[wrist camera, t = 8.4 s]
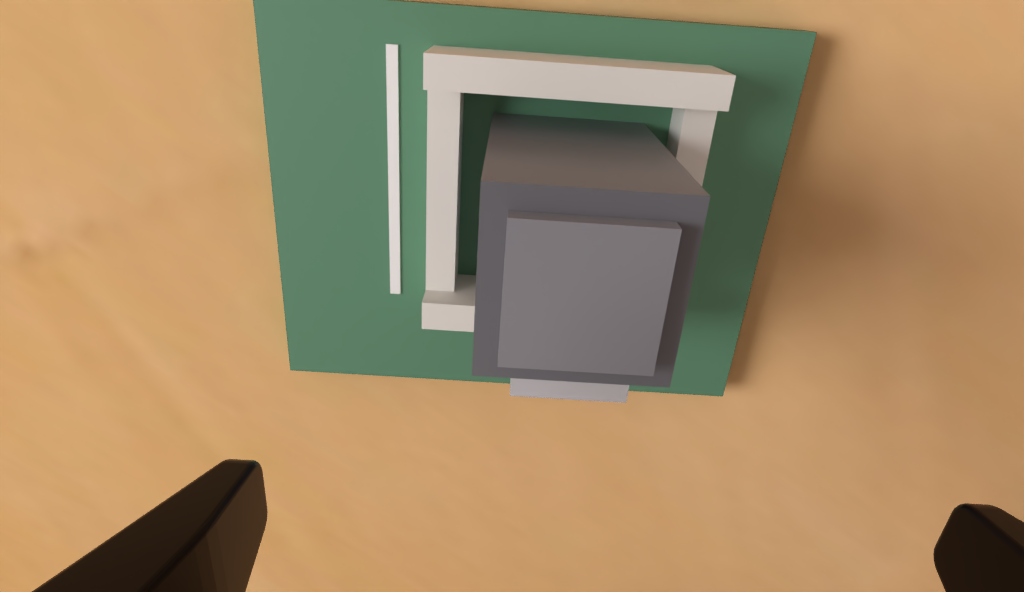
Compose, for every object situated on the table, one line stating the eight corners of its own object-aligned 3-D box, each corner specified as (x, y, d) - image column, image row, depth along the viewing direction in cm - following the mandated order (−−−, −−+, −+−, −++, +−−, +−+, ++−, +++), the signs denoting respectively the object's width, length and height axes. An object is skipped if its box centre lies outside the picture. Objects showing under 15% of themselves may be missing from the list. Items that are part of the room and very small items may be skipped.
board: (803, 30, 17) (854, 38, 14) (716, 382, 21) (742, 435, 19) (263, -11, 16) (217, -9, 14) (298, 357, 21) (268, 407, 19)
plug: (643, 123, 17) (716, 203, 11) (619, 276, 19) (670, 419, 13) (493, 112, 17) (479, 187, 11) (484, 268, 19) (469, 408, 13)
